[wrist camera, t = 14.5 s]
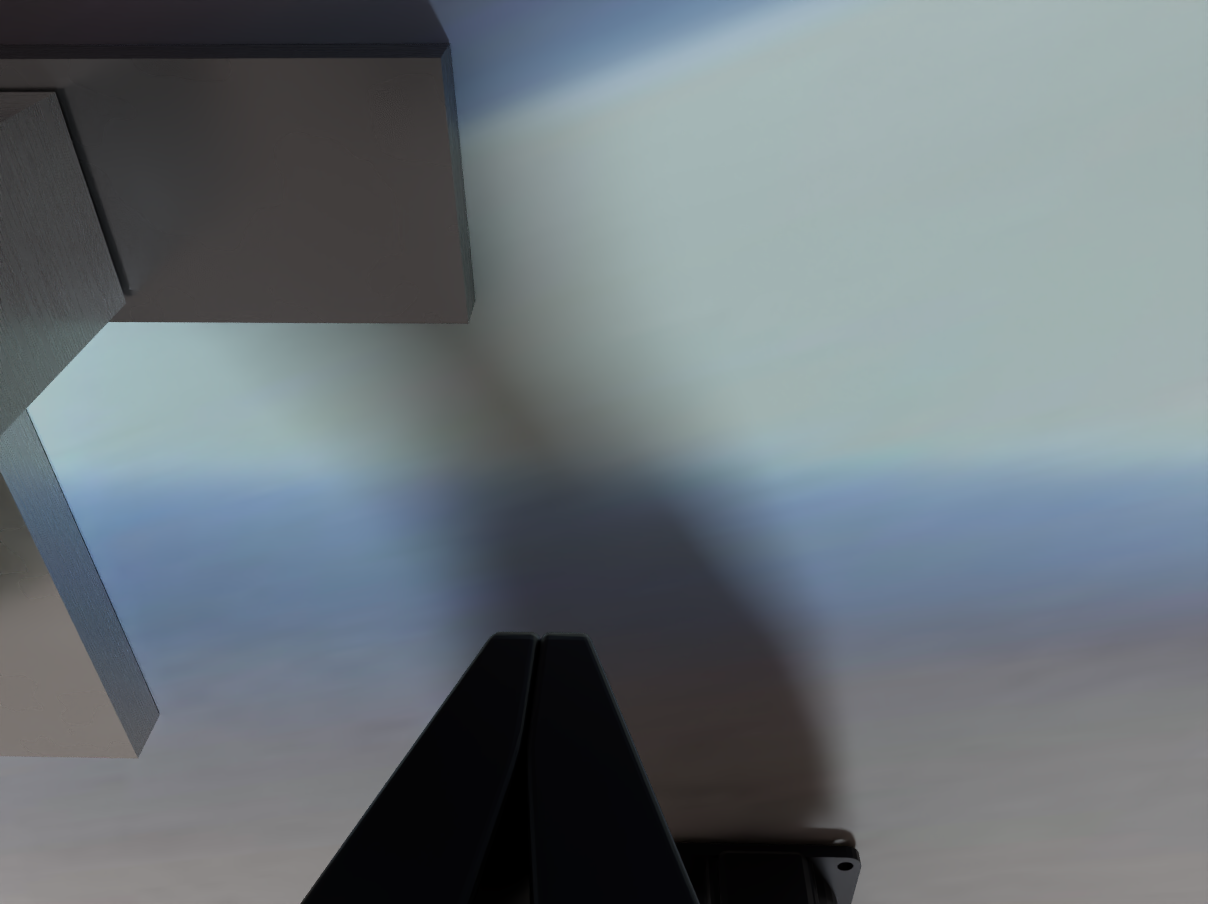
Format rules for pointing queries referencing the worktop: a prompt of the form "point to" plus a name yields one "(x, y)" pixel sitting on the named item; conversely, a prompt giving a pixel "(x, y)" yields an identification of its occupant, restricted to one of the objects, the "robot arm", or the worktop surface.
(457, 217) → the press rail
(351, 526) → the worktop surface
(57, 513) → the flat plate
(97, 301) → the small box
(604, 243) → the worktop surface
